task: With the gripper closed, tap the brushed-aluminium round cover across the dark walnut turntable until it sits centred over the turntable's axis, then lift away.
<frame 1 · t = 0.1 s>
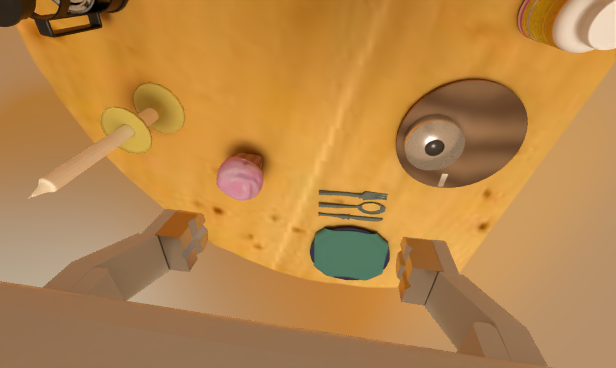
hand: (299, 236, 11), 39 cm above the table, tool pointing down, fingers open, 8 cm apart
cupcake: (251, 160, 58), on the table
platter: (457, 140, 47), point 1 cm above the table, hinge at 0.0°, touching cover
supplement bottle: (544, 9, 36), on the table
cover: (430, 139, 47), point 1 cm above the table, touching platter
cutlery set: (350, 236, 68), on the table
candle: (160, 108, 53), on the table
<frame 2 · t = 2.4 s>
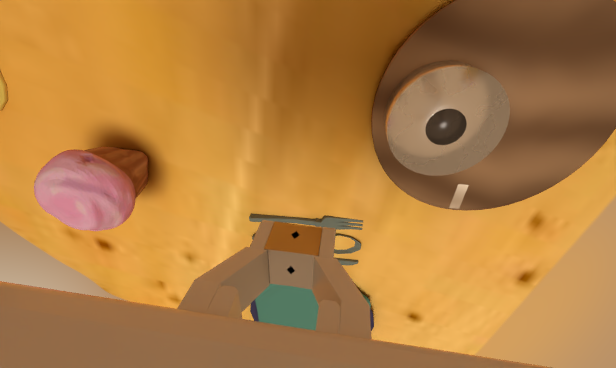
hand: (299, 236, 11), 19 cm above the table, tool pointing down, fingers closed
cupcake: (133, 161, 34), on the table
platter: (487, 117, 24), point 1 cm above the table, hinge at 0.0°, touching cover
cover: (435, 115, 24), point 1 cm above the table, touching platter
cutlery set: (312, 287, 43), on the table
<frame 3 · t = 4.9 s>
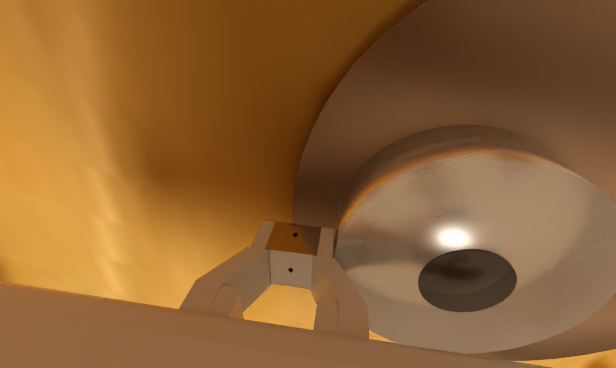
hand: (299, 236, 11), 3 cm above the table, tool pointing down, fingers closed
platter: (521, 226, 12), point 1 cm above the table, hinge at 0.0°
cover: (440, 224, 12), point 2 cm above the table
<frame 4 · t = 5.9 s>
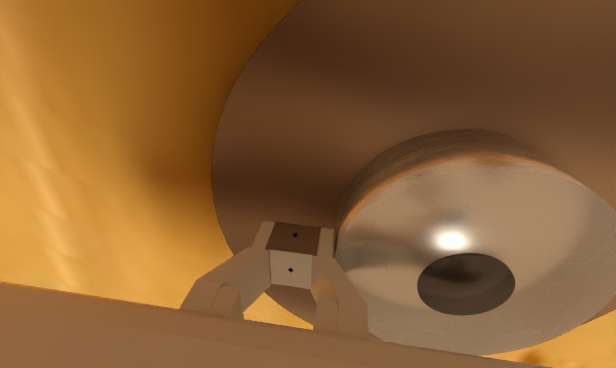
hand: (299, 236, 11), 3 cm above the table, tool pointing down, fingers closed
platter: (429, 220, 12), point 1 cm above the table, hinge at 0.0°, touching cover
cover: (439, 227, 12), point 1 cm above the table, touching gripper, platter
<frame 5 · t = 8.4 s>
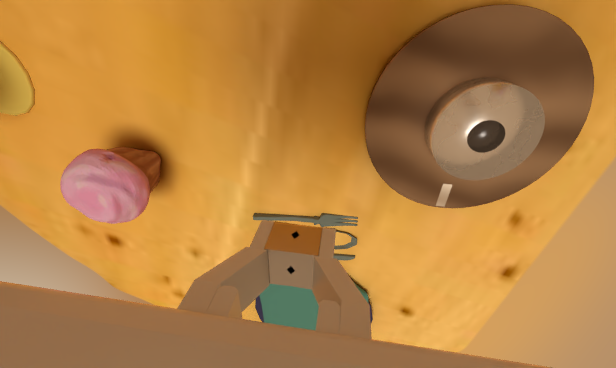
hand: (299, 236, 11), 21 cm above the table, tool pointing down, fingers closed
cupcake: (146, 161, 37), on the table
platter: (467, 123, 27), point 1 cm above the table, hinge at 0.0°, touching cover
cover: (473, 125, 27), point 1 cm above the table, touching platter
cutlery set: (313, 282, 46), on the table
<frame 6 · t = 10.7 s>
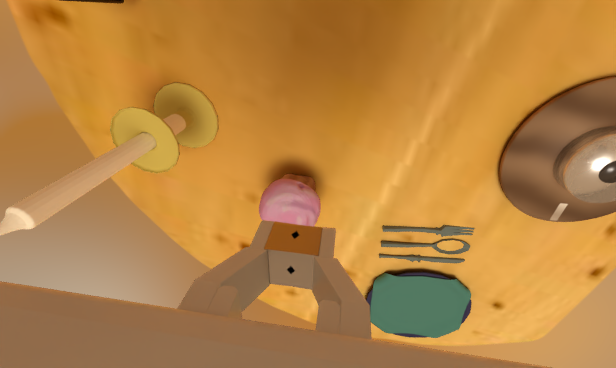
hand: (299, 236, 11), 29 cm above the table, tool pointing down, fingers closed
cupcake: (297, 183, 45), on the table
platter: (589, 158, 35), point 1 cm above the table, hinge at 0.0°, touching cover
cover: (595, 160, 35), point 1 cm above the table, touching platter
cutlery set: (418, 282, 53), on the table
candle: (187, 116, 41), on the table
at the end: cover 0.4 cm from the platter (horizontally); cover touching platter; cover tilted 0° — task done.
